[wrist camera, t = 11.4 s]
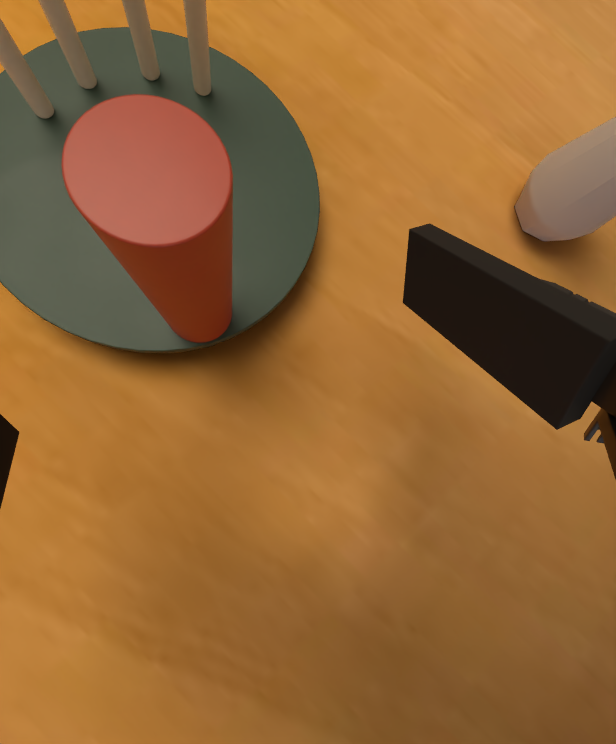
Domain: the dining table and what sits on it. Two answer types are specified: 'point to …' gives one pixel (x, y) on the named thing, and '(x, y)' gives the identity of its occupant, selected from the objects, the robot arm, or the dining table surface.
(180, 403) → the dining table surface
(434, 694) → the dining table surface
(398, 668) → the dining table surface
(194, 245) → the drying rack
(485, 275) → the robot arm
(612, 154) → the salt shaker
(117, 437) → the dining table surface
